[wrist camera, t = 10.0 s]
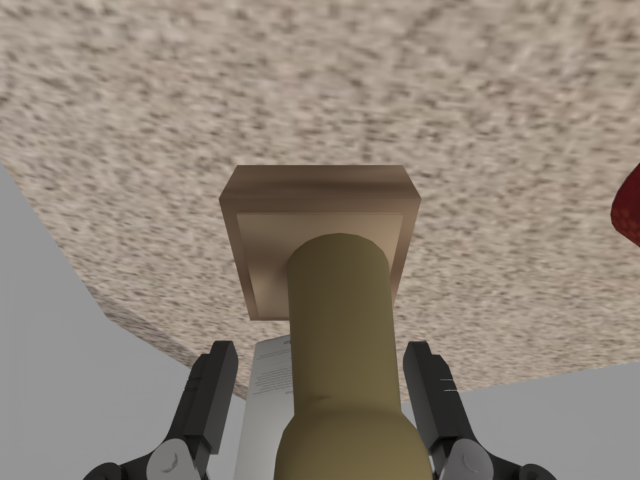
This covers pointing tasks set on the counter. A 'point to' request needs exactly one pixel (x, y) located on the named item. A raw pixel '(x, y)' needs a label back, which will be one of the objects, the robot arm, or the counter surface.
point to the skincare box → (266, 409)
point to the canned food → (628, 207)
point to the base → (311, 221)
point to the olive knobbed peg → (345, 369)
